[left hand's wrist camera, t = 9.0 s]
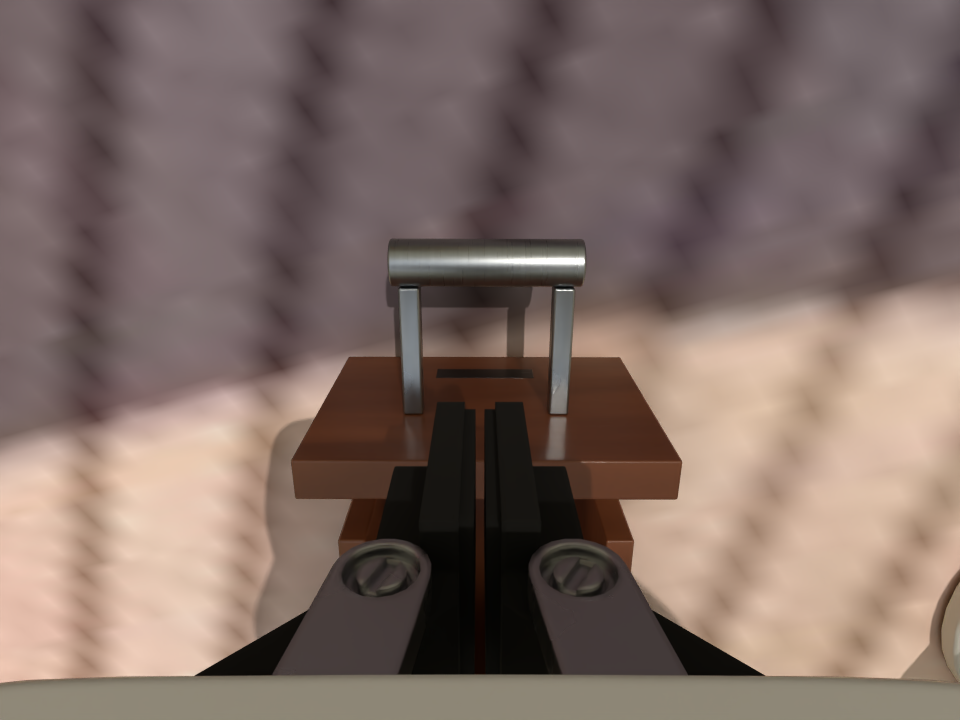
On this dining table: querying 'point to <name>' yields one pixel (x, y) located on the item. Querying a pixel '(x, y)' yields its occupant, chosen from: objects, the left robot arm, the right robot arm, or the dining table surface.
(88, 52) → the dining table surface
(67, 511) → the dining table surface
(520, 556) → the left robot arm
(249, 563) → the dining table surface
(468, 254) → the drawer
